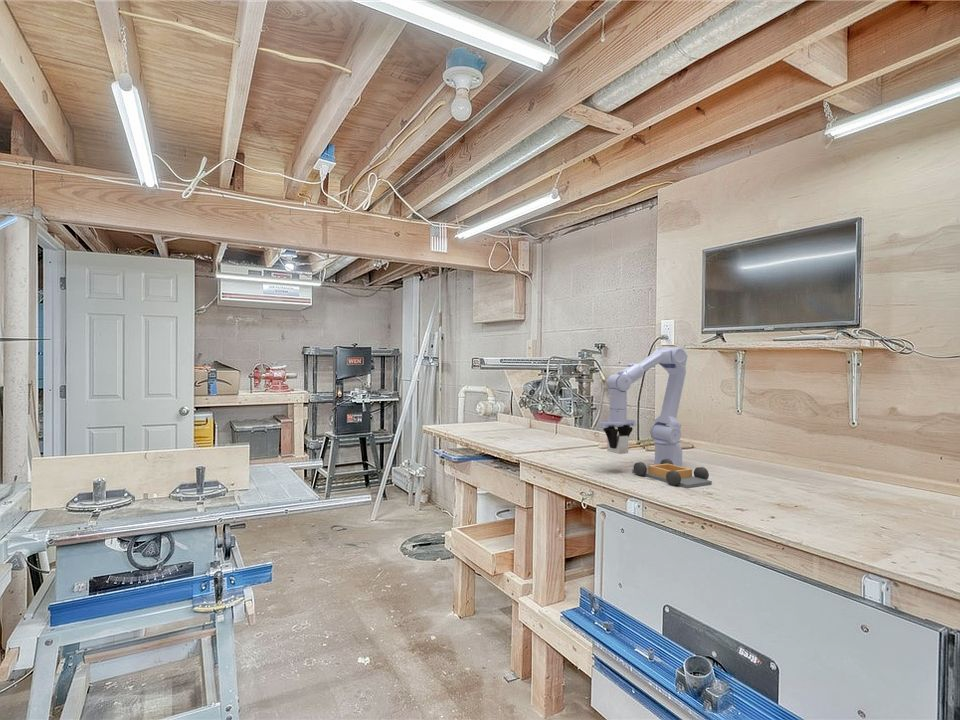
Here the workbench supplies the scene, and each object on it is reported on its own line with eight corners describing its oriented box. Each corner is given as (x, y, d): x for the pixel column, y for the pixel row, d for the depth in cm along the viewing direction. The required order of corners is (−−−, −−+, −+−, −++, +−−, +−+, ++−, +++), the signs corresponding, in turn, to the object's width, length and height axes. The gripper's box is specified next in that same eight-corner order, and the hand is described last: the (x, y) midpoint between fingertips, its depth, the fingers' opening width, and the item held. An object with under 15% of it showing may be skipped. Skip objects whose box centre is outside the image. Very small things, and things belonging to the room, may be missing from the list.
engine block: (616, 450, 173) (616, 433, 173) (628, 453, 167) (628, 435, 167) (607, 451, 171) (607, 434, 171) (619, 454, 166) (619, 436, 166)
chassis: (658, 469, 173) (658, 456, 173) (715, 483, 153) (715, 469, 153) (628, 472, 167) (628, 460, 167) (683, 488, 147) (683, 474, 147)
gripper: (625, 406, 176) (625, 444, 176) (594, 408, 170) (593, 447, 169) (640, 408, 170) (639, 447, 170) (607, 410, 163) (607, 450, 163)
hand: (617, 447), depth 169 cm, fingers closed on engine block, 4 cm apart
